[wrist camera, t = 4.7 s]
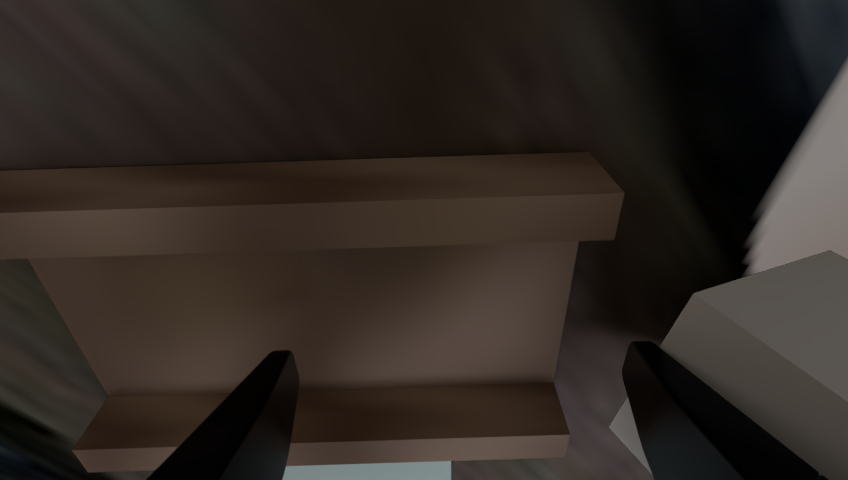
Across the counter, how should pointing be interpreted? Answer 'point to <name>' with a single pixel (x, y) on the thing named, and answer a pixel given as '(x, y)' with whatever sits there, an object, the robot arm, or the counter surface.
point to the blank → (772, 356)
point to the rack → (319, 296)
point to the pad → (372, 471)
